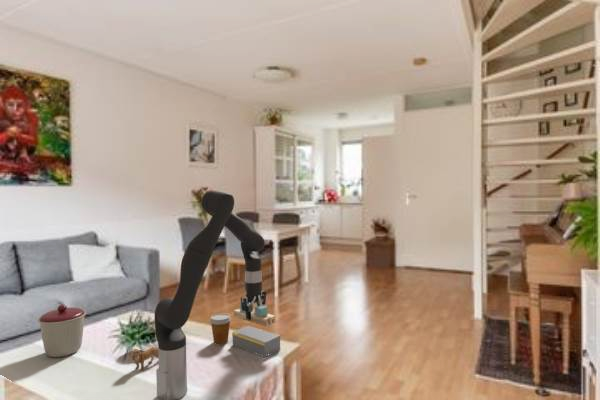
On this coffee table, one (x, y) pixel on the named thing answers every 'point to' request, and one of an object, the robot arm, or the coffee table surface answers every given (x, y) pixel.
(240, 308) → the block
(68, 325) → the canister
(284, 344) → the coffee table surface
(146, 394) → the coffee table surface
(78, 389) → the coffee table surface
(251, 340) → the block
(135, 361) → the lion figurine
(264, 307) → the teal cube
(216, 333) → the disposable coffee cup
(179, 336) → the robot arm
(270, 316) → the pallet
